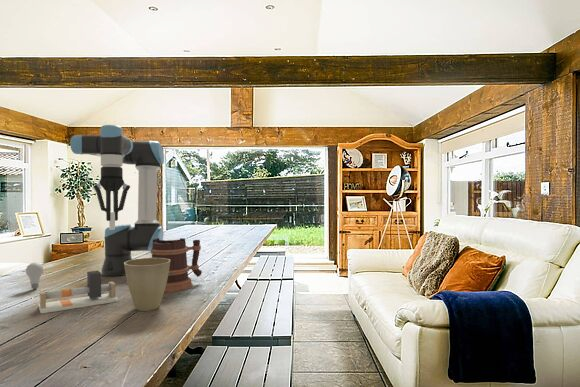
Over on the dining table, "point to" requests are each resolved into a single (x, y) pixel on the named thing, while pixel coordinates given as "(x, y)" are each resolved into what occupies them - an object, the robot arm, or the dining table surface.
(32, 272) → the lightbulb
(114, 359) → the dining table surface
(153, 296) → the plant pot
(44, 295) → the rail
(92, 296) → the dark grey slider block
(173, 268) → the mug
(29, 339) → the dining table surface
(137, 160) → the robot arm
